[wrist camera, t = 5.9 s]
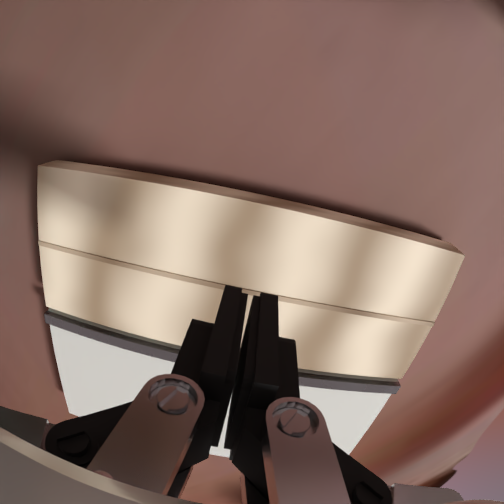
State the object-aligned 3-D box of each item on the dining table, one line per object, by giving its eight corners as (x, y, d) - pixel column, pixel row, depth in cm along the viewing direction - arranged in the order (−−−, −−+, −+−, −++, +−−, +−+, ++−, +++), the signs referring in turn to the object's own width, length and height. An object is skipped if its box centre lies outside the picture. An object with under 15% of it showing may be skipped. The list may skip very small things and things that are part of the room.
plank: (450, 243, 18) (465, 256, 16) (394, 361, 22) (401, 379, 20) (56, 159, 17) (36, 165, 15) (59, 292, 21) (45, 307, 19)
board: (391, 364, 23) (400, 386, 20) (336, 451, 27) (339, 470, 25) (60, 297, 22) (44, 313, 19) (77, 399, 26) (67, 416, 24)
